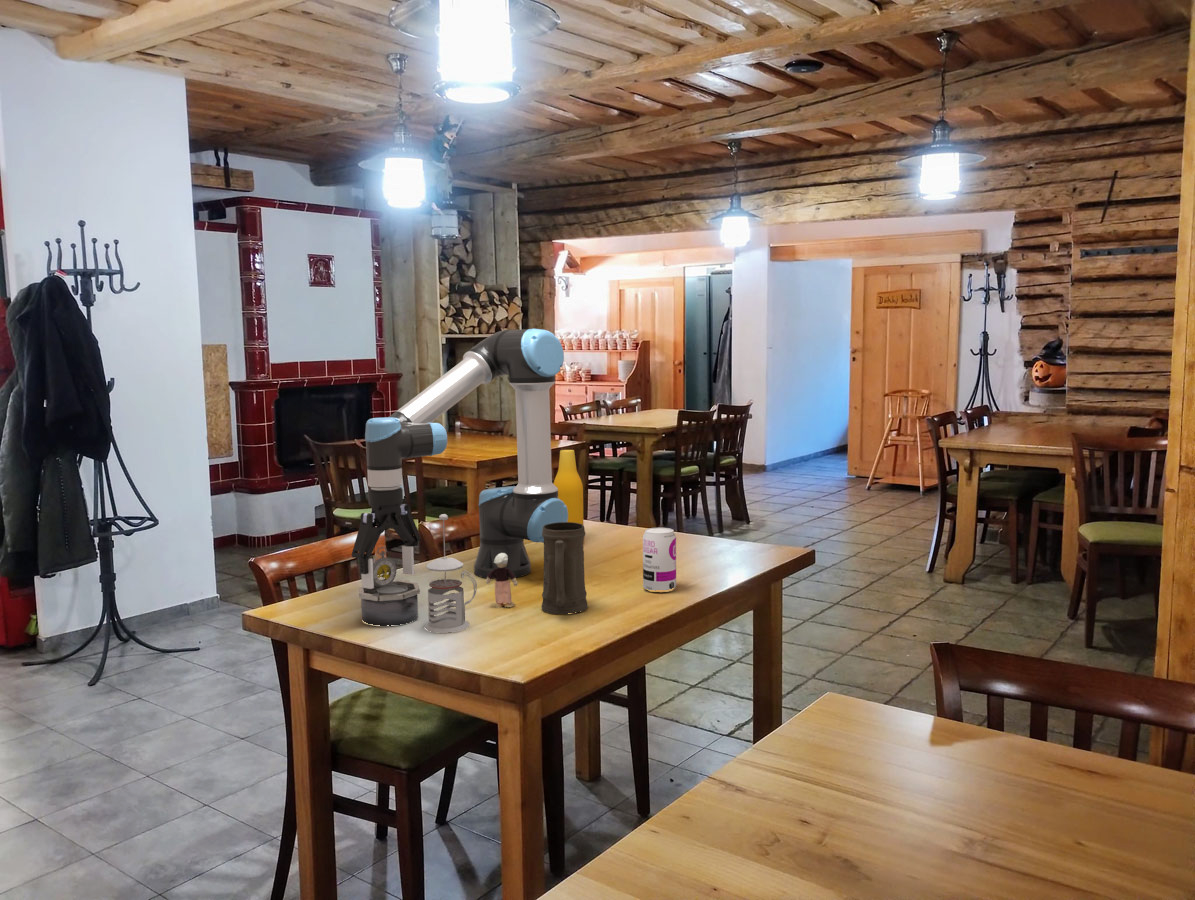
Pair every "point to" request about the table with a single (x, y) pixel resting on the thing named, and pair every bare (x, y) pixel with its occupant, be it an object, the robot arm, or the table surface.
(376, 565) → the pocket watch
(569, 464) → the beer bottle
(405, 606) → the grey octagonal rimmed bowl
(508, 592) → the grandmother figurine
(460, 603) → the french press
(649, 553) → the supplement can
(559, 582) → the beer stein
